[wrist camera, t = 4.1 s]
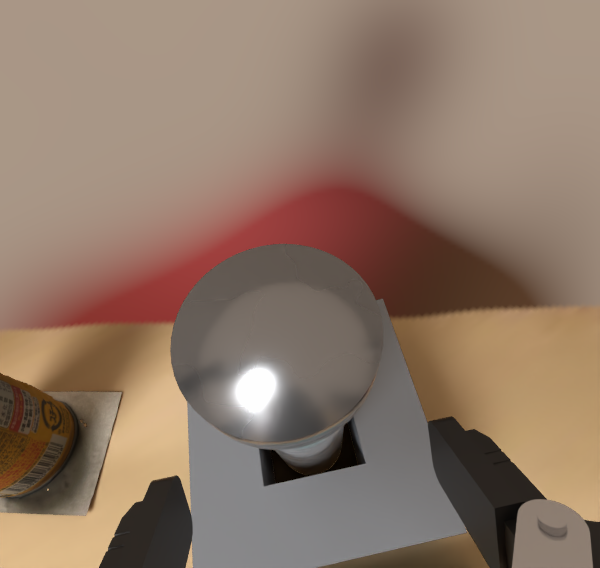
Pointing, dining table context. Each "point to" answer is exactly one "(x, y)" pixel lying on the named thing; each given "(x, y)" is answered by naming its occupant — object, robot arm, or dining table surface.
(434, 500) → the socket block
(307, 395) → the steel pin
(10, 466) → the condiment
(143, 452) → the dining table surface
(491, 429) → the dining table surface
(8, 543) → the dining table surface
